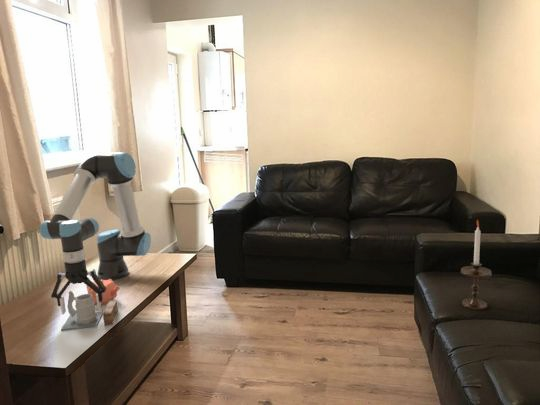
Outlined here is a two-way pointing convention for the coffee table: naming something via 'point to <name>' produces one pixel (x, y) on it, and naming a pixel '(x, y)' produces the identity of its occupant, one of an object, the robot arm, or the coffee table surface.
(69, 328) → the plate
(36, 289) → the coffee table surface
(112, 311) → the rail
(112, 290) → the teapot
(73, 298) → the mug
